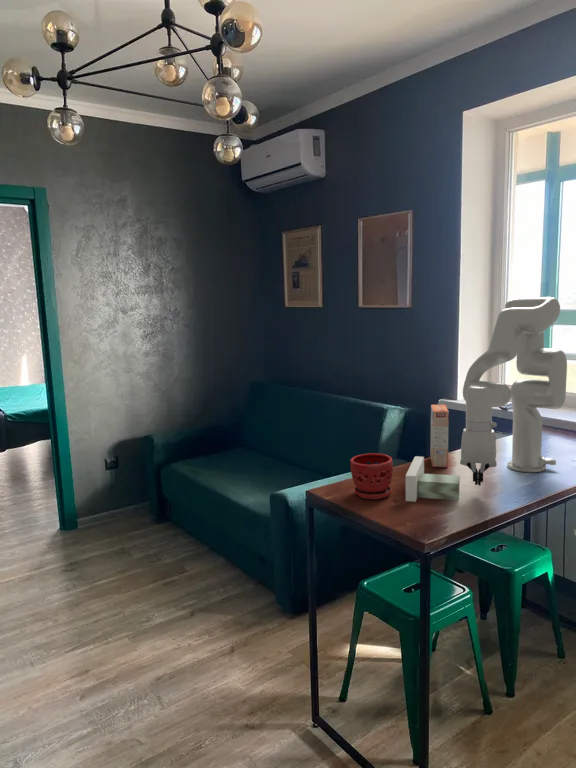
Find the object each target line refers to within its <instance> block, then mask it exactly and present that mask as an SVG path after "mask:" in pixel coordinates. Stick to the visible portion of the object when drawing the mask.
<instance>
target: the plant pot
mask: <svg viewBox="0 0 576 768" xmlns="http://www.w3.org/2000/svg"><path fill="white" fill-rule="evenodd" d="M349 462H350V464H349V465H350V474H351V478H352V481H353V484H354V486H355V488H354V493H355V494H356V495H357V496H358V497H359V498H362V499H367V500H375V499H376V500H378V499H379V500H380V499H385V498H386V497H388V496H390V494H391V493H392V489H393V488H392V487H391V486H390V485H391V484H392V480H393V470H394V463H393V458H392V456H390V455H387V454H385V453H375V452H371V453H363V454H359V455H355V456H353V457H352V458H350V461H349ZM368 463H370V464H368Z"/></svg>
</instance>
